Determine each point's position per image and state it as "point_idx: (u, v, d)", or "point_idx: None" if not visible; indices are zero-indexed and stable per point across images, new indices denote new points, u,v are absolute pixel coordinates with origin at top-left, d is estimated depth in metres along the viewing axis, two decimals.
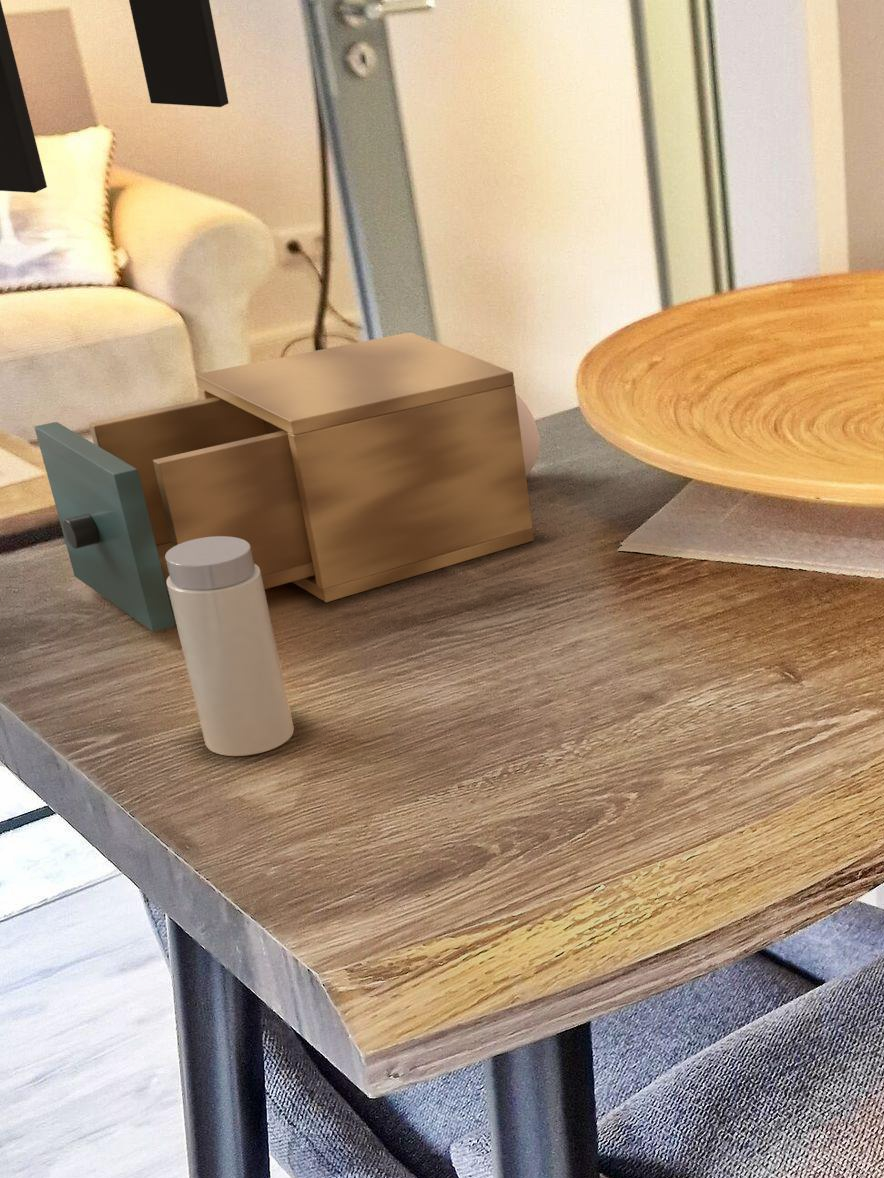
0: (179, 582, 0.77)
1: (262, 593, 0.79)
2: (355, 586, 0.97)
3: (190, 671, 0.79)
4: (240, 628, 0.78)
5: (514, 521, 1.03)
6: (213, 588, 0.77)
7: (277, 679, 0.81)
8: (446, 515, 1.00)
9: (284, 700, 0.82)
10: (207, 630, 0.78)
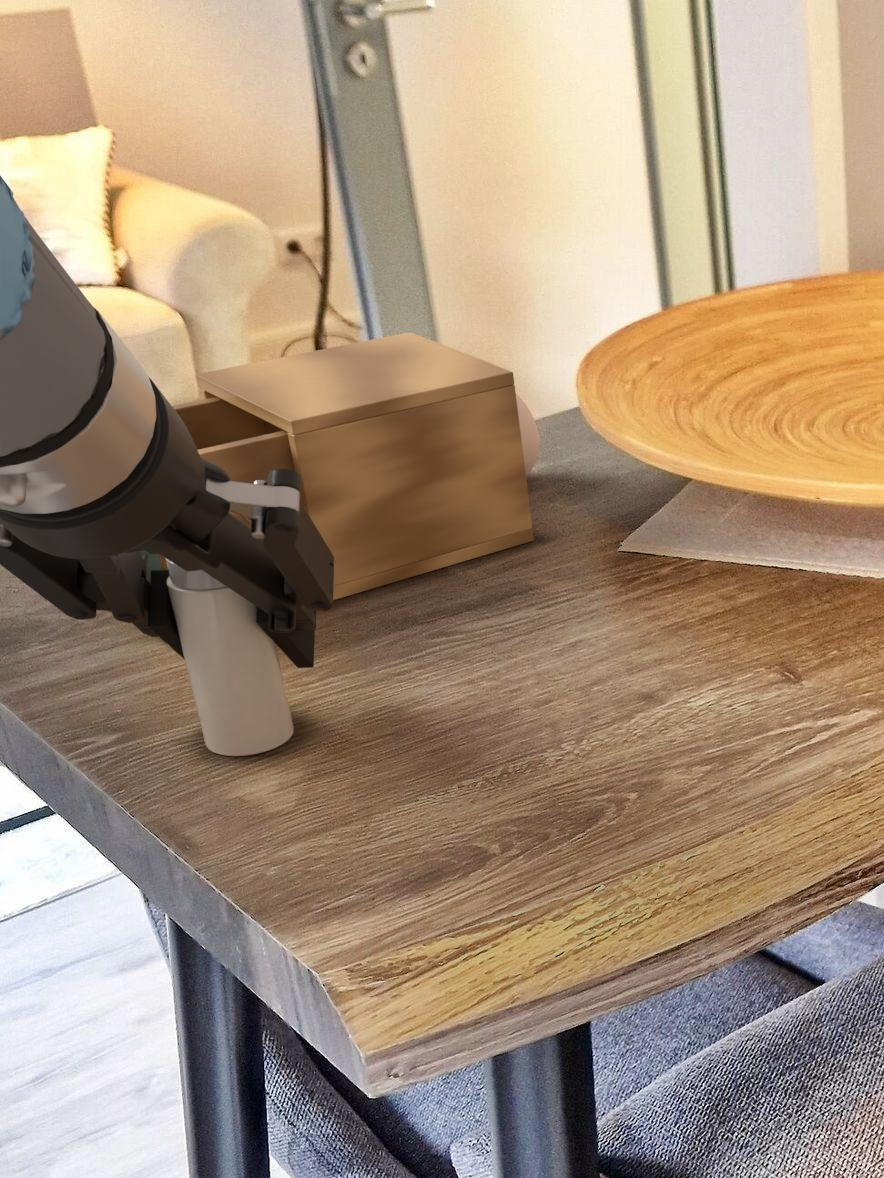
0: (179, 582, 0.77)
1: None
2: (355, 586, 0.97)
3: (190, 671, 0.79)
4: (240, 628, 0.78)
5: (514, 521, 1.03)
6: (213, 588, 0.77)
7: (277, 679, 0.81)
8: (446, 515, 1.00)
9: (284, 700, 0.82)
10: (207, 630, 0.78)
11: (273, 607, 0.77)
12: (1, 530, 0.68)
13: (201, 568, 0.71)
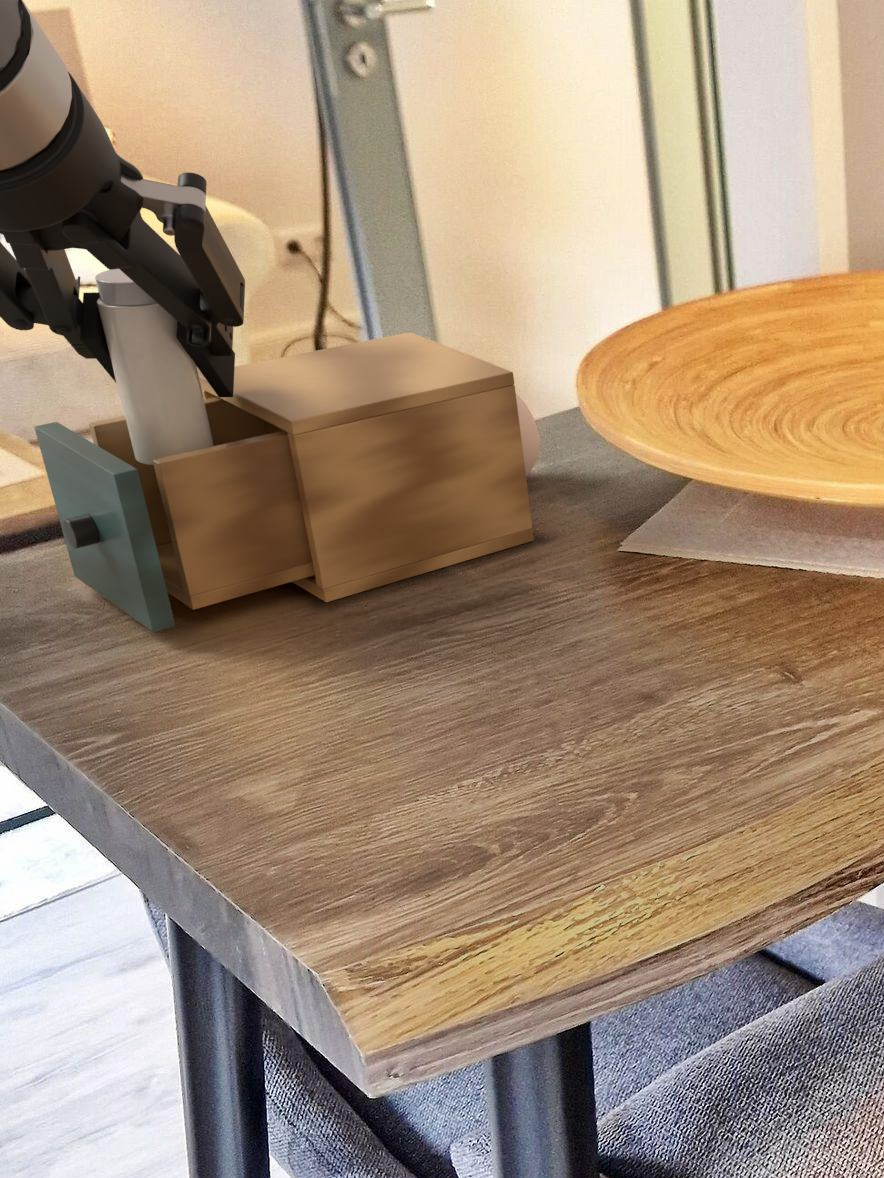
0: (107, 299, 0.87)
1: None
2: (355, 586, 0.97)
3: (119, 385, 0.89)
4: (162, 343, 0.88)
5: (514, 521, 1.03)
6: (137, 304, 0.87)
7: (197, 397, 0.91)
8: (446, 515, 1.00)
9: (205, 418, 0.92)
10: (132, 343, 0.88)
11: (190, 321, 0.87)
12: None
13: (121, 266, 0.81)
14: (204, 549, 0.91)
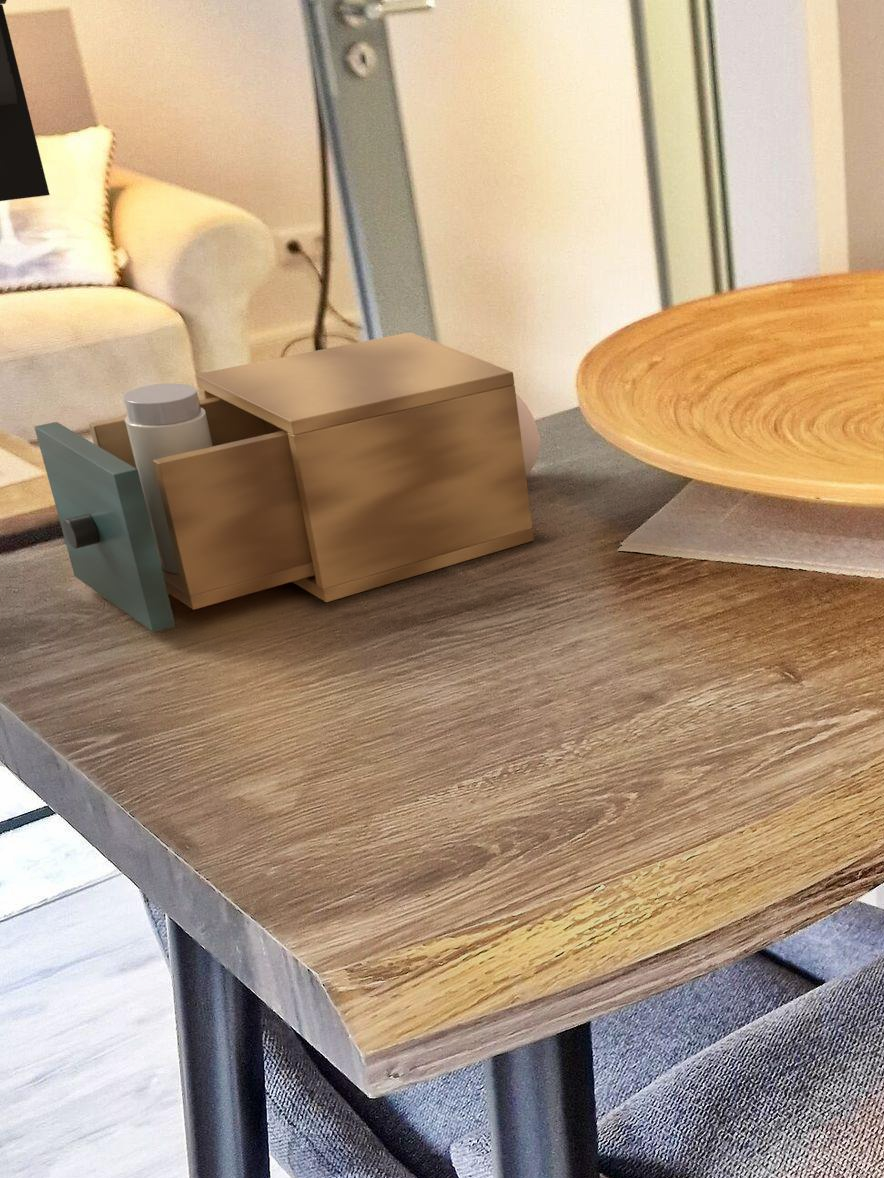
0: (135, 418, 0.90)
1: (207, 431, 0.92)
2: (355, 586, 0.97)
3: (145, 498, 0.93)
4: None
5: (514, 521, 1.03)
6: (164, 423, 0.90)
7: None
8: (446, 515, 1.00)
9: None
10: None
11: None
12: None
13: None
14: (204, 549, 0.91)
